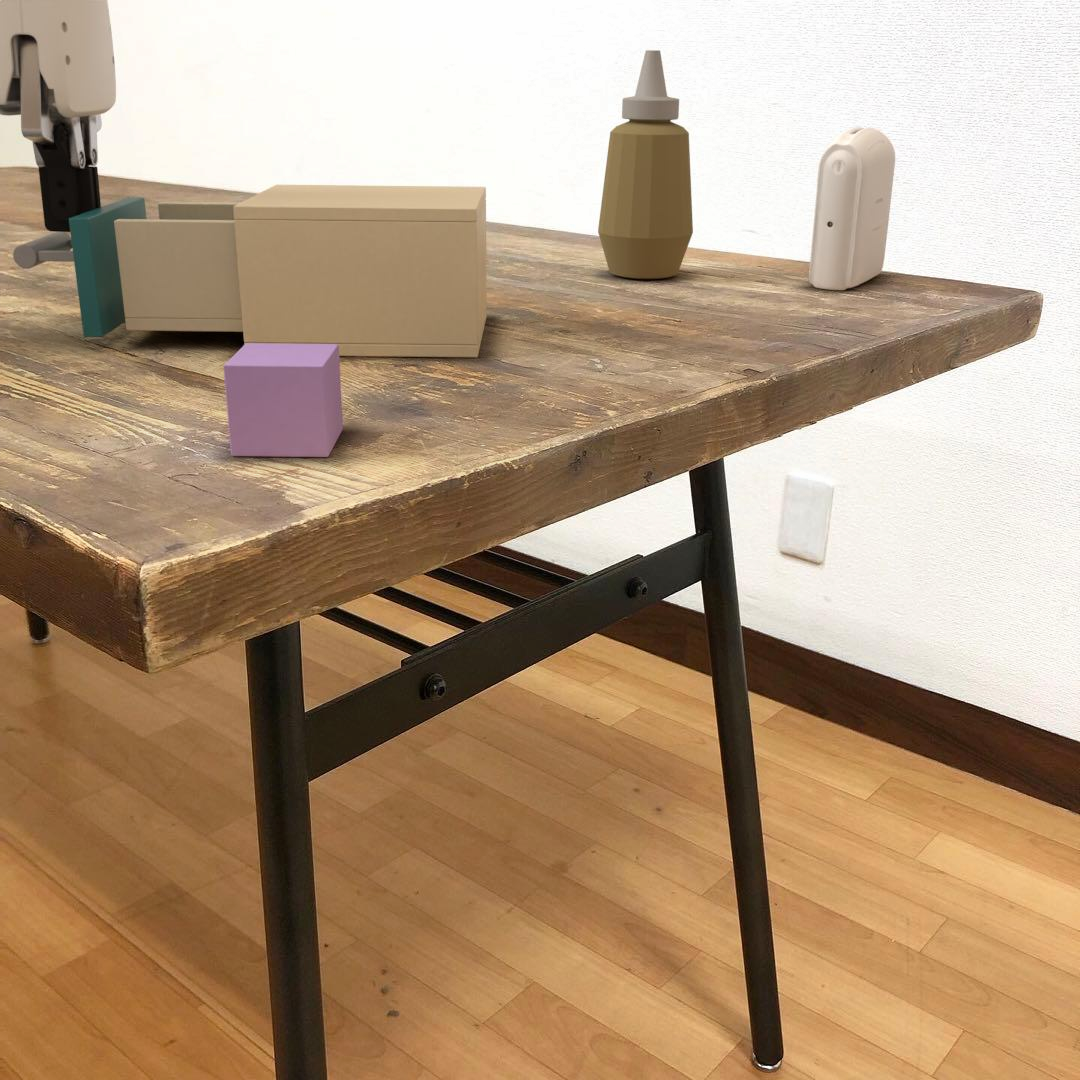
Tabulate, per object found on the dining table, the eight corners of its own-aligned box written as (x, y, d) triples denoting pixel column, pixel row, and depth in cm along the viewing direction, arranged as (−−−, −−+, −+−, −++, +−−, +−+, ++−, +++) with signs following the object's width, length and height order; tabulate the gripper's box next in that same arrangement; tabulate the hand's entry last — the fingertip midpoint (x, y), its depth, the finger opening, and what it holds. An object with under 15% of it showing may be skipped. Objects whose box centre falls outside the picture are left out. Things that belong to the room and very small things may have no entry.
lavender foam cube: (231, 456, 58) (222, 365, 57) (252, 428, 62) (245, 342, 61) (328, 457, 58) (323, 366, 57) (343, 429, 62) (338, 343, 61)
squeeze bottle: (621, 285, 101) (629, 50, 95) (581, 270, 108) (586, 49, 102) (707, 280, 104) (721, 51, 98) (663, 265, 111) (673, 50, 105)
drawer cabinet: (244, 355, 77) (232, 205, 74) (284, 315, 89) (275, 184, 86) (477, 357, 77) (476, 208, 74) (486, 317, 89) (485, 186, 86)
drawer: (7, 336, 78) (-11, 217, 75) (72, 301, 88) (58, 196, 85) (298, 339, 77) (290, 220, 75) (327, 304, 88) (322, 199, 85)
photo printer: (852, 293, 99) (869, 131, 95) (801, 287, 101) (815, 129, 97) (888, 275, 108) (905, 125, 103) (840, 270, 110) (855, 123, 105)
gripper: (29, -74, 81) (58, 214, 87) (-79, -101, 67) (-34, 244, 74) (143, -69, 81) (164, 218, 88) (60, -95, 67) (93, 249, 74)
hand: (74, 229), depth 81 cm, fingers closed
